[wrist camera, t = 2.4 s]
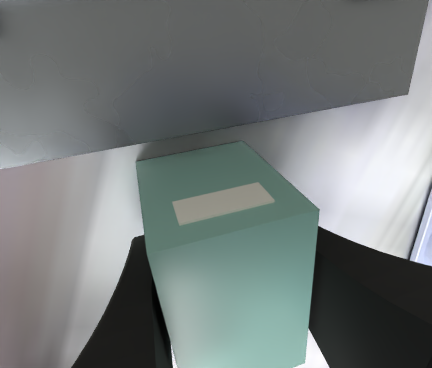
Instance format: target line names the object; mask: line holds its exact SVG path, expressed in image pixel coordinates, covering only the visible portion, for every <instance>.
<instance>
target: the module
mask: <svg viewBox="0 0 432 368" xmlns="http://www.w3.org/2000/svg"><path fill="white" fill-rule="evenodd" d="M136 170H137V178H138V186H139V194H140V202H141V210H142V218H143V227H144V235H145V243H146V251H147V257H148V260H149V264H150V268H151V271H152V275H153V279H154V282H155V286H156V290H157V293H158V297H159V301H160V304H161V308H162V312H163V315H164V319H165V323H166V327H167V330H168V334H169V338H170V341H171V345H172V349H173V352H174V356H175V360H176V363H177V367H178V368H293V367H296V366H298V365H301V364H304V363H305V357H306V346H307V336H308V325H309V315H310V304H311V294H312V283H313V273H314V262H315V252H316V241H317V231H318V220H319V210H320V209H318V208H317V207H316V206H315V205H314V204H313V203H312V202H311V201H309V200H308V199H307V198H306V197H305V196H304V195H303V194H302V193H301V192H299V191H298V190H297V189H296V188H295V187H294V186H293V185H292V184H291V183H289V182H288V181H287V180H286V179H285V178H284V177H283V176H282V175H280V174H279V173H278V172H277V171H276V170H275V169H274V168H273V167H272V166H270V165H269V164H268V163H267V162H266V161H265V160H264V159H263V158H261V157H260V156H259V155H258V154H257V153H256V152H255V151H254V150H253V149H251V148H250V147H249V146H248V145H247V144H246V143H245V142H244V141H239V142H234V143H229V144H224V145H219V146H214V147H208V148H203V149H198V150H193V151H188V152H183V153H178V154H173V155H168V156H162V157H157V158H152V159H147V160H142V161H137V162H136Z"/></svg>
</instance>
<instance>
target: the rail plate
mask: <svg viewBox="0 0 432 368" xmlns="http://www.w3.org/2000/svg"><path fill="white" fill-rule="evenodd" d="M428 1H429V0H0V169H5V168H10V167H16V166H21V165H27V164H32V163H37V162H43V161H48V160H54V159H59V158H65V157H70V156H76V155H81V154H86V153H92V152H97V151H103V150H108V149H114V148H119V147H124V146H130V145H135V144H141V143H146V142H152V141H157V140H163V139H168V138H173V137H179V136H184V135H190V134H195V133H201V132H206V131H212V130H217V129H222V128H228V127H233V126H239V125H244V124H250V123H255V122H261V121H266V120H271V119H277V118H282V117H288V116H293V115H299V114H304V113H309V112H315V111H320V110H326V109H331V108H337V107H342V106H348V105H353V104H358V103H364V102H369V101H375V100H380V99H386V98H391V97H397V96H402V95H407V94H408V92H409V87H410V83H411V78H412V74H413V69H414V65H415V60H416V56H417V51H418V46H419V42H420V37H421V33H422V28H423V24H424V19H425V15H426V10H427V6H428Z"/></svg>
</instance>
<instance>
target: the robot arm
mask: <svg viewBox="0 0 432 368" xmlns="http://www.w3.org/2000/svg"><path fill="white" fill-rule="evenodd" d="M308 328H309V330H310V332H311V333H312V335H313V337H314V339H315V341H316V343H317V345H318V347H319V348H320V350H321V352H322V354H323V356H324V358H325V360H326V362H327V364H328V366H329V368H432V189H431V192H430V195H429V199H428V202H427V205H426V208H425V212H424V215H423V218H422V222H421V225H420V228H419V231H418V235H417V238H416V241H415V244H414V248H413V251H412V254H411V258H410V260H407V259H403V258H400V257H396V256H393V255H390V254H386V253H383V252H380V251H377V250H375V249H372V248H369V247H366V246H364V245H361V244H358V243H356V242H353V241H351V240H348V239H346V238H343V237H341V236H339V235H337V234H334V233H332V232H330V231H328V230H326V229H323V228H321V227H319V226H318V231H317V241H316V252H315V262H314V273H313V283H312V294H311V304H310V315H309V325H308ZM71 368H173V365H172V353H171V341H170V338H169V334H168V330H167V327H166V323H165V319H164V315H163V312H162V308H161V304H160V301H159V297H158V293H157V290H156V286H155V282H154V279H153V275H152V271H151V268H150V264H149V260H148V257H147V251H146V243H145V235H142V236H138V237H134V238H133V240H132V242H131V247H130V250H129V254H128V257H127V260H126V263H125V266H124V269H123V271H122V274H121V276H120V279H119V282H118V284H117V286H116V289H115V291H114V293H113V295H112V297H111V299H110V302H109V304H108V306H107V308H106V310H105V312H104V314H103V316H102V318H101V320H100V321H99V323H98V325H97V327H96V329H95V330H94V332H93V334H92V336H91V337H90V339H89V341H88V342H87V344H86V345H85V347H84V349H83V350H82V352H81V353H80V355H79V357H78V358H77V360H76V361H75V363H74V364H73V366H72V367H71Z"/></svg>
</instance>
